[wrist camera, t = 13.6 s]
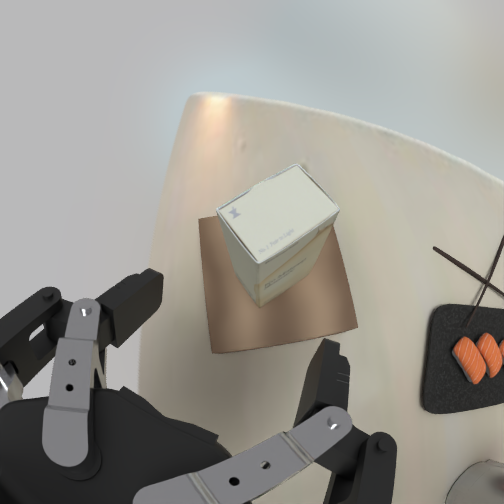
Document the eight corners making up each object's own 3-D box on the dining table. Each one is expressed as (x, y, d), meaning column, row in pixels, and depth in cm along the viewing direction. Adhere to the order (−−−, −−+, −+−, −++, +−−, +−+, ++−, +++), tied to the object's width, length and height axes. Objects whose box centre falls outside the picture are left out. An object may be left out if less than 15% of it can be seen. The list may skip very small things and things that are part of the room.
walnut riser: (318, 221, 34) (325, 200, 29) (343, 332, 29) (358, 327, 24) (207, 237, 34) (198, 218, 29) (220, 353, 29) (211, 353, 24)
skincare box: (259, 309, 25) (255, 271, 14) (233, 272, 27) (210, 209, 16) (312, 272, 27) (344, 210, 15) (285, 237, 28) (297, 160, 17)
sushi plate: (411, 414, 25) (426, 419, 21) (419, 201, 35) (431, 188, 32) (528, 393, 22) (542, 393, 18) (525, 237, 32) (537, 229, 29)
